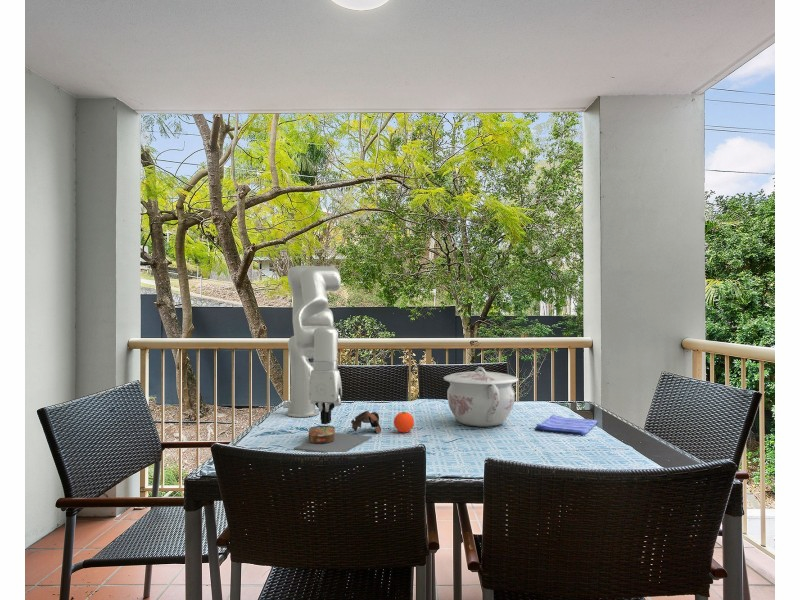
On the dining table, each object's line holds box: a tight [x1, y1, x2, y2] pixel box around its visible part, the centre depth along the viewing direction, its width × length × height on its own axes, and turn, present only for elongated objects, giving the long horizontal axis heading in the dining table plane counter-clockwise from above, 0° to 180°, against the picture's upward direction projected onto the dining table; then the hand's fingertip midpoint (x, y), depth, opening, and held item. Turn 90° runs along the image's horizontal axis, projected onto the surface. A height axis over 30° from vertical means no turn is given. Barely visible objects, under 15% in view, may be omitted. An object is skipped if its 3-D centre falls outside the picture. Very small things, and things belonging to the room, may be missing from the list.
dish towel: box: [534, 414, 598, 437], centre depth 208 cm, size 17×24×3 cm
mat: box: [293, 432, 373, 453], centre depth 185 cm, size 16×22×1 cm
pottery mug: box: [350, 410, 382, 435], centre depth 202 cm, size 12×10×8 cm
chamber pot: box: [443, 366, 519, 428], centre depth 214 cm, size 28×28×21 cm
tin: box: [307, 425, 336, 443], centre depth 190 cm, size 15×3×8 cm
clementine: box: [393, 411, 415, 433], centre depth 201 cm, size 8×7×7 cm
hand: (325, 423), depth 187 cm, fingers closed
